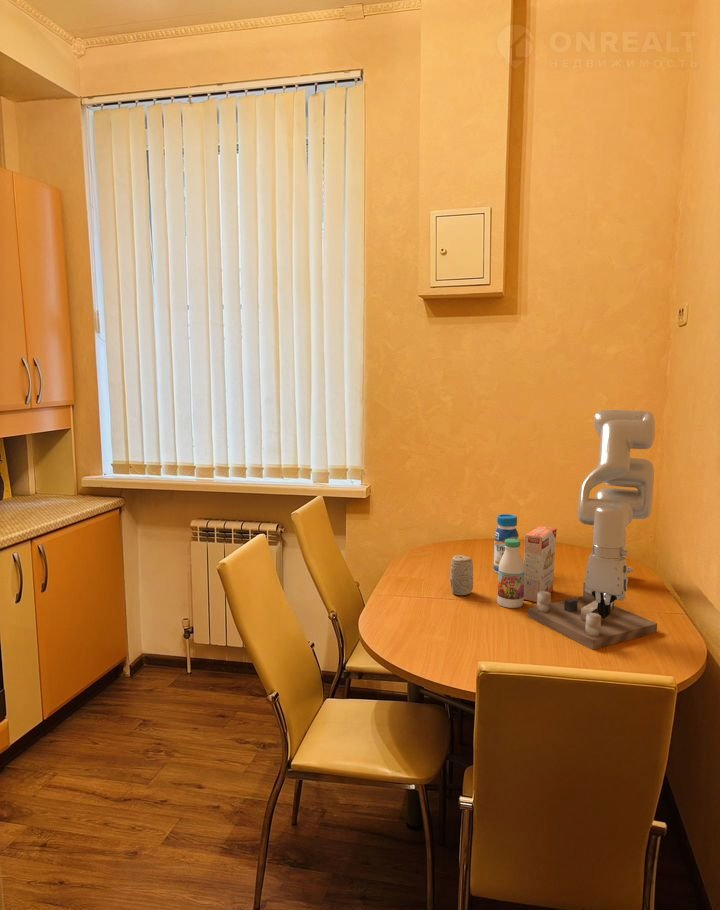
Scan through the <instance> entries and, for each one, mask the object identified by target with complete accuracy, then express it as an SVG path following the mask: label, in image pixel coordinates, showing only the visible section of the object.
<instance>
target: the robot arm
mask: <svg viewBox="0 0 720 910" xmlns="http://www.w3.org/2000/svg"><path fill="white" fill-rule="evenodd" d="M655 421H656V420H655V416H654V414H653V413H652V412H651V411H645V410H624V409H620V410H619V409H603V410H598V411H596V412H595V413H594V417H593V426H594V429H595V431H596V433H597V435H598V437H599V450H598V460H597V466H596V468H594V469H593V470H592V471H591V472H589V474H587V476H586V477H585V478H584V480H583V482H582V483H581V484H580V485H581V486H580V488H579V491H578V502H577V511H576V512H577V518H578V521H579V522H580V523H581V524H583V525H587V526H593V533H592V534H593V537H592V552H591V553H589V556H588V560H587V564H586V571H585V577H584V582H585V586H586V587H585V591H586V592H588V593H590V594H592V595H593V596H594V598H595V599H596V602H597V603H598V607H597V613H599V615H600V616H601V617H602V618H604V619H605V618H606V617H607V616H609V615H610V609H611V603H612V602H613V601H614V602H615V601H625V600H626V598H627V597H626V592H627V591H628V583H629V578H628V573H632V572H633V571H634V569H633V567H632V566H627V560H626V557H627V556H628V555H629V551H628V550H626V542H627V527H628V526H629V525H630V524H632V521H633V519H634V520H647V519H648V518H650V516H651V514H652V510H653V498H654V497H653V495H654V481H655V469H654V464H653V463H652V462H651V461H650V460H649V459H646V458H635V457H634V458H633V457H631V450H649V449H651V448H652V447H653V445H654V443H655V438H656V425H655V424H656V423H655ZM601 484H605V485H607V486H611V487H605V488H601V489H599V490H597V492H596V493H595V495H594V498H590V494H591V491H592V490H593V489H594V488H595V487H597V486H598V485H601ZM613 487H616V488H613ZM617 487H621V488H617ZM622 487H623V488H622ZM626 488H634V489H626ZM604 593H605V594H606V599H605V600H604Z"/></svg>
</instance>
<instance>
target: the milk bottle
mask: <svg viewBox="0 0 720 910" xmlns="http://www.w3.org/2000/svg"><path fill="white" fill-rule="evenodd" d="M504 547H505V552H504V554H503V557H502V558H501V560H500V563H499V571H498V573H497V574H498V575H497V596H496V597H497V601H496V602H497V604H498V605H499V606H500V607H503V608H509V609H518V608H521V607H522V606H523V605H524V599H523V598H524V559H522V556H521V554H520V553H521V552H520V549H521V540H519V539H518V540H517V539H506V540H505V546H504Z"/></svg>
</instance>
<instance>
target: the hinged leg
mask: <svg viewBox="0 0 720 910" xmlns="http://www.w3.org/2000/svg"><path fill="white" fill-rule="evenodd" d="M605 599H606V594H605V593H604V600H605ZM614 606H615V601H613V602H612V603H611V609H613V608H614ZM597 607H598V603H597V602H596V600H595V601H593V602H592V603H590V604H588V605H586V606H585V607H583V608H581V619H583V620H586V614H587V613H596V614H599V613H597ZM611 609H610V610H611Z"/></svg>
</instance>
